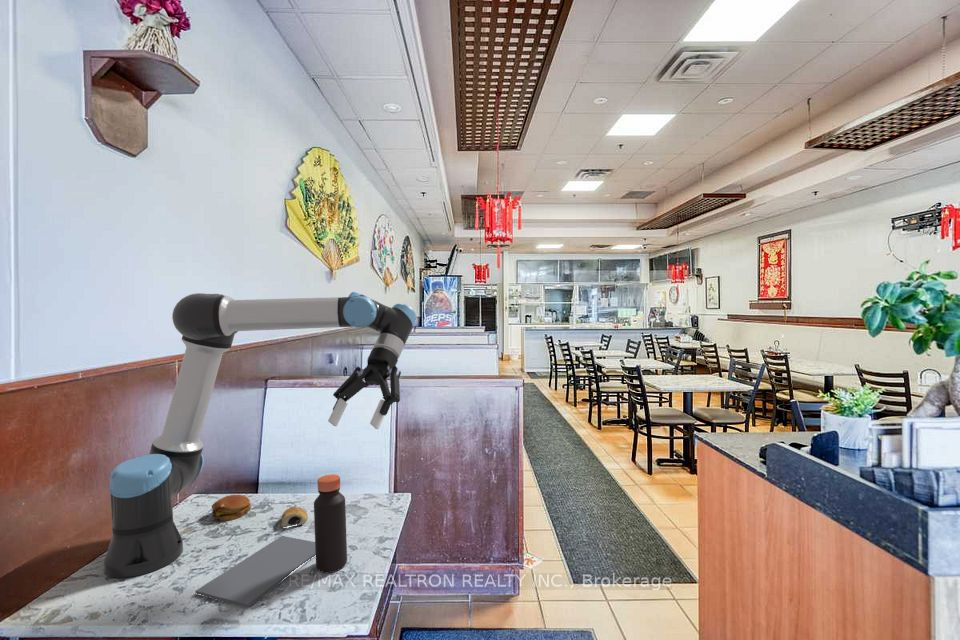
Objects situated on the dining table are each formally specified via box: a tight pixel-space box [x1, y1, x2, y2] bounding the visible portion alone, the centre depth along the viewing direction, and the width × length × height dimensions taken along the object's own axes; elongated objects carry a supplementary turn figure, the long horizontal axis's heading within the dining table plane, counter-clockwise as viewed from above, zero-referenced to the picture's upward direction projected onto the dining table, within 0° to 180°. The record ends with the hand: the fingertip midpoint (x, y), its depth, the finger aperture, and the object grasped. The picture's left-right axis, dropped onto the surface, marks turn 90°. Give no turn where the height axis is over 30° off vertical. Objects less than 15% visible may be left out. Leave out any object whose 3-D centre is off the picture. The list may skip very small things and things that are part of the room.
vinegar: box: [313, 474, 348, 573], centre depth 106 cm, size 7×7×20 cm
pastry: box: [280, 506, 308, 528], centre depth 129 cm, size 9×7×4 cm
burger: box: [211, 494, 252, 522], centre depth 134 cm, size 10×9×5 cm
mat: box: [195, 535, 316, 609], centre depth 105 cm, size 14×24×1 cm, turn 160°
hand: (352, 425), depth 113 cm, fingers open, 13 cm apart
